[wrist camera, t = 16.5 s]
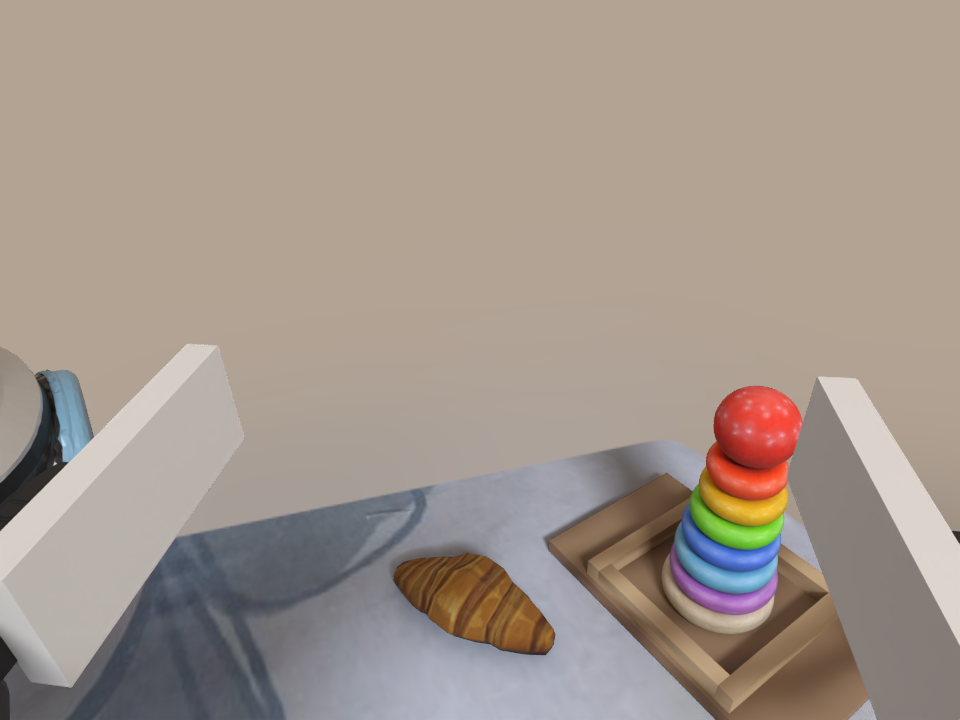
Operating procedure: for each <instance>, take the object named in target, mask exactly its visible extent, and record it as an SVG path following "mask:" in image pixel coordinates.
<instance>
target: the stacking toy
mask: <svg viewBox="0 0 960 720" xmlns="http://www.w3.org/2000/svg"><path fill="white" fill-rule="evenodd" d="M802 424H803V422H802V418H801V415H800V412H799V411H798V408H797V407H796V405H795V404H794V403H793V402H792V401H791V400H790V399H789V398H788V397H787V396H785V395H784V394H783V393H781V392H779V391H777V390H775V389H772V388H769V387H764V386H749V387H744V388H741V389H738V390H736V391H734V392H732V393H731V394H729V395H728V396H727V397H726V398H725V399H724V400H723V401H722V402H721V404H720V405H719V407H718V409H717V411H716V413H715V417H714V434H715V437H716V440H717V442H715V443H714V444H713V445H712V446H711V448H710V449H709V451H708V453H707V457H706V467H705V468H704V470H703V471H702V473H701V475H700V479H699V484H698V485H697V486H696V487H695V489H694V490H693V492H692V494H691V497H690V502H689V504H688V505H687V506H686V508H685V510H684V512H683V515H682V521H681V522H680V524H679V526H678V528H677V530H676V533H675V539H674V543H673V545H672V548H671V551H670V553H669V555H668V556H667V558H666V560H665V562H664V565H663V568H662V585H663V589H664V591H665V594H666V596H667V598H668V600H669V601H670V603H671V604H672V606H673V607H674V608H675V609H676V610H677V611H678V612H679V613H680V614H681V615H682V616H683V617H684V618H686V619H687V620H688V621H690V622H691V623H693V624H695V625H697V626H699V627H701V628H703V629H706V630H709V631H712V632H716V633H723V634H738V633H743V632H747V631H750V630H753V629H755V628H756V627H758V626H760V625H761V624H762V623H763V622H764V621H765V620H766V619H767V618H768V617H769V615H770V613H771V611H772V608H773V605H774V594H775V592H776V589H777V584H778V572H777V565H778V552H779V549H780V545H781V534H780V533H781V531H782V528H783V525H784V511H785V509H786V507H787V503H788V492H787V489H786V484H787V482H788V479H787V477H786V476H787V473H788V470H789V467H788V463H787V461H786V460H788V459H789V458H790V457H791V456H792V455H793V453H794V450H795V447H796V444H797V440H798V437H799V434H800V431H801V427H802Z"/></svg>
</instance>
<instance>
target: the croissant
mask: <svg viewBox="0 0 960 720" xmlns="http://www.w3.org/2000/svg"><path fill="white" fill-rule="evenodd" d="M393 580H394V582H395V584H396V585H397V587H398V588H399V589H400V591H401V592H402V593H403V594H404V596H405V597H406V598H407V599H408V600H409V602H410V603H411V604H412V605H413V606H414V607H415V608H416V609H418V610H419V611H420V612H423V613H425V614H427V616H428V617H429V618H430V619H431V620H432V621H433V622H434V623H436V624H437V625H438V626H440V627H441V628H442V629H443V630H445V631H446V632H447V633H449V634H452V635H454V636H456V637H460V638H463V639H467V640H471V641H474V642H479V643H486V644H491V645H493V646H494V647H496V648H498V649H499V650H502V651H508V652H514V653H520V654H528V655H546V654H547V653H548V652H549V650H550V649H551V648H552V646H553V644H554V639H555V632H554V629H553V628H552V627H551V625H550V624H549V622H548V621H547V620H546V618H545V617H544V616H543V614H542V613H541V612H540V610H539V609H538V608H537V607H536V606H535V605H534V604H533V603H532V601H531V600H530V599H529V597H528V596H527V595H526V594H525V593H524V592H523V591H522V590H521V589H519V588H518V587H517V586H516V585H515V584H514V583H513V582H512V581H511V579H510V578H509V576H508V574H507V573H506V571H505V570H504V568H502V567H501V566H499V565H498V564H496V563H495V562H493V561H492V560H490V559H489V558H487V557H485V556H480V555H474V554H469V553H466V554H463V555H460V556H457V557H433V558H419V559H415V560H410V561H406V562H403V563H402V564H401V565H399V566H398V567H397V569H396V572H395V574H394V579H393Z"/></svg>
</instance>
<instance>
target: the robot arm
mask: <svg viewBox="0 0 960 720" xmlns="http://www.w3.org/2000/svg"><path fill="white" fill-rule="evenodd" d="M244 438H245V437H244V434H243V431H242V427H241V423H240V420H239V416H238V413H237V410H236V406H235V403H234V399H233V396H232V392H231V389H230V385H229V382H228V378H227V375H226V371H225V368H224V364H223V361H222V357H221V354H220V351H219V347H218V345H200V344H187V345H186V346H185V347H184V348H183V349H182V350H181V351H180V352H179V353H178V354H177V355H176V356H175V357H174V358H173V359H172V360H171V361H170V362H169V363H168V364H167V365H166V366H165V367H164V368H163V369H162V370H161V371H160V372H159V373H158V374H157V375H156V376H155V377H154V378H153V379H152V380H151V381H150V382H149V383H148V384H147V385H146V386H145V387H144V388H143V389H142V390H141V391H140V392H139V393H138V394H137V395H136V396H135V397H134V398H133V399H132V400H131V401H130V402H129V403H128V404H127V405H126V406H125V407H124V408H123V409H122V410H121V411H120V412H119V413H118V414H117V415H116V416H115V417H114V418H113V419H112V420H111V421H110V422H109V423H108V424H107V425H106V426H105V427H104V428H103V429H102V430H101V431H100V432H99V433H98V434H97V435H96V436H95V437H94V436H93V432H92V428H91V424H90V421H89V417H88V413H87V409H86V405H85V401H84V398H83V394H82V390H81V387H80V384H79V381H78V378H77V377H76V375H75V374H74V373H72V372H70V371H68V370H59V371H53V372H52V371H50V370H46V371H41V372H38V373H36V375H35V376H34V374H33V372H32V371H31V370H30V369H29V368H28V366H27V365H26V364H25V363H24V362H23V361H22V360H21V359H20V358H19V357H18V356H16V355H15V354H13V353H11V352H9V351H8V350H6V349H4V348H1V347H0V720H10V708H9V691H8V688H7V685H6V683H5V682H4V680H3V678H4V677H5V676H6V675H7V673H8V672H9V671H10V670H11V668H12V667H13V666H14V665H15V663H16V662H17V663H18V665H19V666H20V667H21V669H22V670H23V672H24V673H25V675H26V676H27V677H28V679H29V680H30V682H32V683H39V684H47V685H55V686H62V687H70V688H72V686H73V685H74V684H75V682H76V681H77V679H78V678H79V676H80V675H81V673H82V672H83V671H84V669H85V668H86V666H87V665H88V663H89V662H90V660H91V659H92V658H93V656H94V655H95V653H96V652H97V650H98V649H99V647H100V646H101V645H102V643H103V642H104V640H105V639H106V637H107V636H108V634H109V633H110V632H111V630H112V629H113V627H114V626H115V624H116V623H117V621H118V620H119V619H120V617H121V616H122V614H123V613H124V611H125V610H126V608H127V607H128V606H129V604H130V603H131V601H132V600H133V598H134V597H135V595H136V594H137V593H138V591H139V590H140V588H141V587H142V585H143V584H144V582H145V581H146V580H147V578H148V577H149V575H150V574H151V572H152V571H153V569H154V568H155V567H156V565H157V564H158V562H159V561H160V559H161V558H162V556H163V555H164V554H165V552H166V551H167V549H168V548H169V546H170V545H171V543H172V542H173V541H174V539H175V538H176V536H177V535H178V533H179V532H180V530H181V529H182V527H183V526H184V525H185V523H186V522H187V520H188V519H189V517H190V516H191V515H192V513H193V512H194V510H195V509H196V507H197V506H198V504H199V503H200V502H201V500H202V499H203V497H204V495H205V494H206V493H207V491H208V490H209V489H210V487H211V486H212V484H213V482H214V481H215V480H216V478H217V477H218V475H219V474H220V473H221V471H222V470H223V468H224V467H225V465H226V464H227V463H228V461H229V460H230V458H231V457H232V455H233V454H234V452H235V451H236V450H237V448H238V447H239V445H240V444H241V442H242V441H243V439H244ZM786 477H787V479H788V482H789V485H790V487H791V490H792V493H793V495H794V498H795V501H796V503H797V506H798V509H799V512H800V514H801V517H802V519H803V522H804V525H805V528H806V530H807V533H808V536H809V538H810V541H811V544H812V546H813V549H814V552H815V554H816V557H817V560H818V562H819V565H820V568H821V570H822V573H823V576H824V578H825V581H826V584H827V586H828V589H829V592H830V595H831V597H832V600H833V603H834V605H835V608H836V611H837V613H838V616H839V619H840V621H841V624H842V627H843V629H844V632H845V635H846V637H847V640H848V643H849V645H850V648H851V651H852V653H853V656H854V659H855V661H856V664H857V667H858V669H859V672H860V675H861V677H862V680H863V683H864V686H865V688H866V691H867V694H868V696H869V699H870V702H871V704H872V707H873V710H874V712H875V715H876V718H877V720H960V532H958V531H951V530H950V528H949V526H948V525H947V523H946V522H945V520H944V518H943V517H942V515H941V514H940V512H939V510H938V509H937V507H936V505H935V504H934V502H933V501H932V499H931V497H930V496H929V494H928V493H927V491H926V489H925V488H924V486H923V484H922V483H921V481H920V480H919V478H918V476H917V475H916V473H915V472H914V470H913V468H912V467H911V465H910V464H909V462H908V460H907V459H906V457H905V455H904V454H903V452H902V451H901V449H900V447H899V446H898V444H897V443H896V441H895V440H894V438H893V436H892V434H891V433H890V431H889V430H888V428H887V426H886V425H885V423H884V422H883V420H882V418H881V417H880V415H879V413H878V412H877V410H876V409H875V407H874V405H873V404H872V402H871V401H870V399H869V397H868V396H867V394H866V392H865V391H864V389H863V388H862V386H861V384H860V383H859V381H858V380H857V379H855V378H836V377H817V379H816V382H815V385H814V388H813V392H812V395H811V398H810V402H809V405H808V408H807V411H806V414H805V418H804V421H803V424H802V427H801V431H800V434H799V437H798V440H797V444H796V447H795V450H794V453H793V457H792V460H791V463H790V466H789V470H788V473H787V476H786Z"/></svg>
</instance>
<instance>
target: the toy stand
mask: <svg viewBox="0 0 960 720" xmlns="http://www.w3.org/2000/svg"><path fill="white" fill-rule="evenodd" d="M691 494H692V491H691V490H690V489H688V488H687V487H685V486H684V485H683V484H681V483H680V482H679V481H677V480H676V479H674V478H673V477H672V476H670V475H669V474H668V473H665V474H664V475H662V476H660V477H659V478H657V479H655V480H653V481H652V482H650V483H648V484H646V485H645V486H643V487H641V488H639V489H638V490H636V491H634V492H633V493H631V494H629V495H627V496H626V497H624V498H622V499H620V500H619V501H617V502H615V503H613V504H612V505H610V506H608V507H606V508H605V509H603V510H601V511H600V512H598V513H596V514H594V515H593V516H591V517H589V518H587V519H586V520H584V521H582V522H580V523H579V524H577V525H575V526H574V527H572V528H570V529H568V530H567V531H565V532H563V533H561V534H560V535H558V536H556V537H554V538H553V539H551V540H549V551H550V552H551V553H552V554H553V555H554V556H555V557H556V558H557V559H558V560H559V561H560V562H561V563H562V564H563V565H564V566H565V567H566V568H567V569H568V570H569V571H570V573H571V574H572V575H573V576H574V577H575V578H576V579H577V580H578V581H579V582H580V583H581V584H582V585H583V586H584V587H585V588H586V589H587V590H588V591H589V592H590V593H591V594H592V595H593V596H594V597H595V598H596V599H597V600H598V601H599V602H600V603H601V604H602V605H603V606H604V607H605V608H606V609H607V610H608V611H609V612H610V613H611V614H612V615H613V616H614V617H615V618H616V619H617V620H618V621H619V622H620V623H621V624H622V625H623V626H624V627H625V628H626V629H627V630H628V631H629V632H630V633H631V634H632V635H633V636H634V637H635V638H636V639H637V640H638V641H639V642H640V643H641V644H642V645H643V646H644V647H645V648H646V649H647V650H648V651H649V652H650V653H651V655H652V656H653V657H654V658H655V659H656V660H657V661H658V662H659V663H660V664H661V665H662V666H663V667H664V668H665V669H666V670H667V671H668V672H669V673H670V674H671V675H672V676H673V677H674V678H675V679H676V680H677V681H678V682H679V683H680V684H681V685H682V686H683V687H684V688H685V689H686V690H687V691H688V692H689V693H690V694H691V695H692V696H693V697H694V698H695V699H696V700H697V701H698V702H699V703H700V704H701V705H702V706H703V707H704V708H705V709H706V710H707V711H708V712H709V713H710V714H711V715H712V716H713V717H714V718H715V719H716V720H848V719H849V718H850V717H851V716H852V715H853V714H854V713H855V712H856V711H857V710H858V709H859V708H860V707H861V706H862V705H863V704H864V703H865V702H866V701H867V700H868V699H869V696H868V694H867V691H866V688H865V686H864V683H863V680H862V677H861V675H860V672H859V669H858V667H857V664H856V661H855V659H854V656H853V653H852V651H851V648H850V645H849V643H848V640H847V637H846V635H845V632H844V629H843V627H842V624H841V621H840V619H839V616H838V613H837V611H836V608H835V605H834V603H833V600H832V597H831V595H830V592H829V589H828V586H827V584H826V581H825V578H824V576H823V573H821V572H820V571H819V570H817V569H816V568H814V567H813V566H812V565H810V564H809V563H807V562H806V561H805V560H803V559H802V558H800V557H799V556H798V555H796V554H795V553H793V552H792V551H791V550H789V549H788V548H786V547H785V546H784V545H782V544H781V545H780V549H779V552H778V565H777V572H778V584H777V589H776V592H775V594H774V605H773V608H772V611H771V613H770V615H769V617H768V618H767V619H766V620H765V621H764V622H763V623H762V624H761V625H760V626H758V627H756V628H755V629H753V630H750V631H747V632H743V633H738V634H723V633H716V632H712V631H709V630H706V629H703V628H701V627H699V626H697V625H695V624H693V623H691V622H690V621H688V620H687V619H686V618H684V617H683V616H682V615H681V614H680V613H679V612H678V611H677V610H676V609H675V608H674V607H673V606H672V604H671V603H670V601H669V600H668V598H667V596H666V594H665V591H664V589H663V585H662V568H663V565H664V562H665V560H666V558H667V556H668V555H669V553H670V551H671V548H672V545H673V543H674V539H675V533H676V530H677V528H678V526H679V524H680V522H681V521H682V515H683V512H684V510H685V508H686V506H687V505H688V504H689V502H690V497H691Z"/></svg>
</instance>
